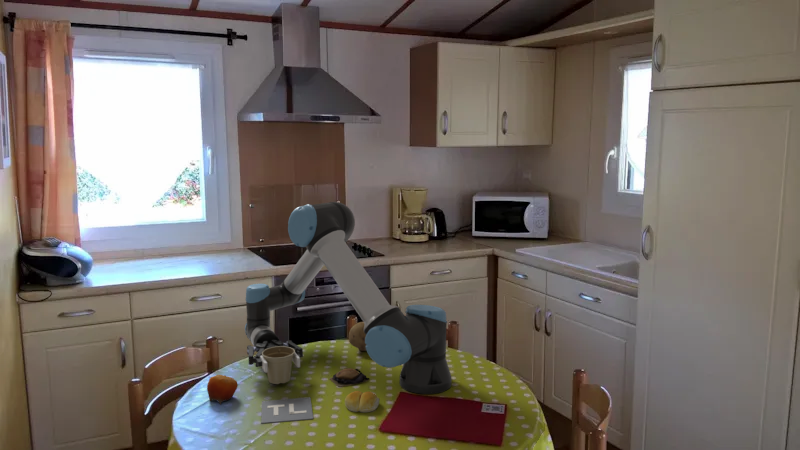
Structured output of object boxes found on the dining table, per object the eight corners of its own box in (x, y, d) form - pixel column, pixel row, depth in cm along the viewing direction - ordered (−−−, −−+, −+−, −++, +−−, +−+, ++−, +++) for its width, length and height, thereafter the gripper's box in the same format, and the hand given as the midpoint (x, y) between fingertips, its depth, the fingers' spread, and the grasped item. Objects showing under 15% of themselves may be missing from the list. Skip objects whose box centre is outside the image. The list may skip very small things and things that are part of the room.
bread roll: (350, 398, 169) (350, 385, 169) (381, 402, 167) (381, 388, 167) (340, 411, 161) (340, 397, 161) (372, 415, 159) (372, 400, 159)
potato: (365, 357, 200) (365, 328, 199) (343, 352, 205) (342, 323, 203) (380, 349, 208) (380, 320, 207) (358, 344, 212) (358, 316, 211)
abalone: (339, 390, 176) (338, 377, 176) (327, 379, 183) (327, 368, 183) (372, 382, 181) (372, 370, 181) (359, 373, 189) (359, 361, 188)
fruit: (196, 400, 164) (204, 370, 167) (212, 404, 171) (220, 375, 174) (221, 405, 161) (229, 374, 164) (237, 409, 168) (245, 379, 171)
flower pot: (292, 387, 174) (291, 357, 172) (259, 386, 174) (258, 357, 172) (298, 374, 183) (297, 346, 182) (266, 373, 183) (266, 346, 182)
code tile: (261, 423, 154) (261, 422, 154) (262, 401, 167) (262, 400, 167) (313, 419, 157) (313, 417, 157) (310, 397, 169) (310, 396, 169)
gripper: (298, 347, 198) (319, 372, 178) (230, 357, 190) (244, 384, 169) (298, 325, 197) (319, 347, 177) (230, 333, 189) (243, 358, 168)
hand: (282, 365), depth 173 cm, fingers closed on flower pot, 9 cm apart
